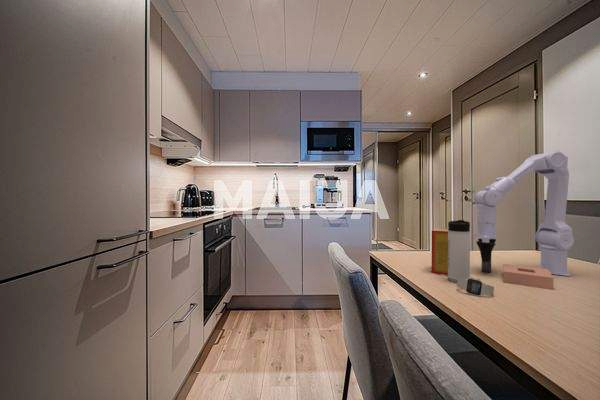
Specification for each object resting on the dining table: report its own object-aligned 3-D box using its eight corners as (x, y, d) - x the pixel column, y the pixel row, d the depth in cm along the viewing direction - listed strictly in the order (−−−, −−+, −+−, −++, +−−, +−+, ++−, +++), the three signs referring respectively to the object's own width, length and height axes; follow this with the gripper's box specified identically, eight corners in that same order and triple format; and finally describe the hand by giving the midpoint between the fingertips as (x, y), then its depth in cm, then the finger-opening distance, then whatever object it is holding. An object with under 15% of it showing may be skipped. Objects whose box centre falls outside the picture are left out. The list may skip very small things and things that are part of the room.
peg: (481, 270, 103) (481, 252, 103) (491, 271, 102) (491, 253, 101) (481, 272, 101) (481, 253, 101) (491, 273, 99) (491, 254, 99)
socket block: (503, 273, 99) (503, 264, 99) (547, 279, 92) (547, 269, 92) (503, 282, 89) (503, 271, 89) (553, 289, 82) (553, 277, 82)
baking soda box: (451, 275, 97) (452, 230, 96) (431, 272, 100) (431, 229, 100) (454, 270, 104) (455, 228, 104) (436, 267, 108) (436, 227, 108)
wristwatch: (455, 293, 80) (455, 275, 80) (458, 287, 85) (458, 271, 85) (493, 300, 74) (493, 281, 74) (494, 293, 79) (494, 276, 79)
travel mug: (471, 280, 91) (472, 220, 91) (467, 285, 86) (467, 221, 86) (451, 276, 95) (451, 219, 95) (445, 281, 91) (445, 220, 90)
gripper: (475, 220, 109) (474, 254, 109) (472, 223, 98) (471, 261, 98) (496, 221, 105) (496, 257, 105) (496, 224, 93) (496, 264, 94)
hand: (486, 259), depth 101 cm, fingers open, 7 cm apart
